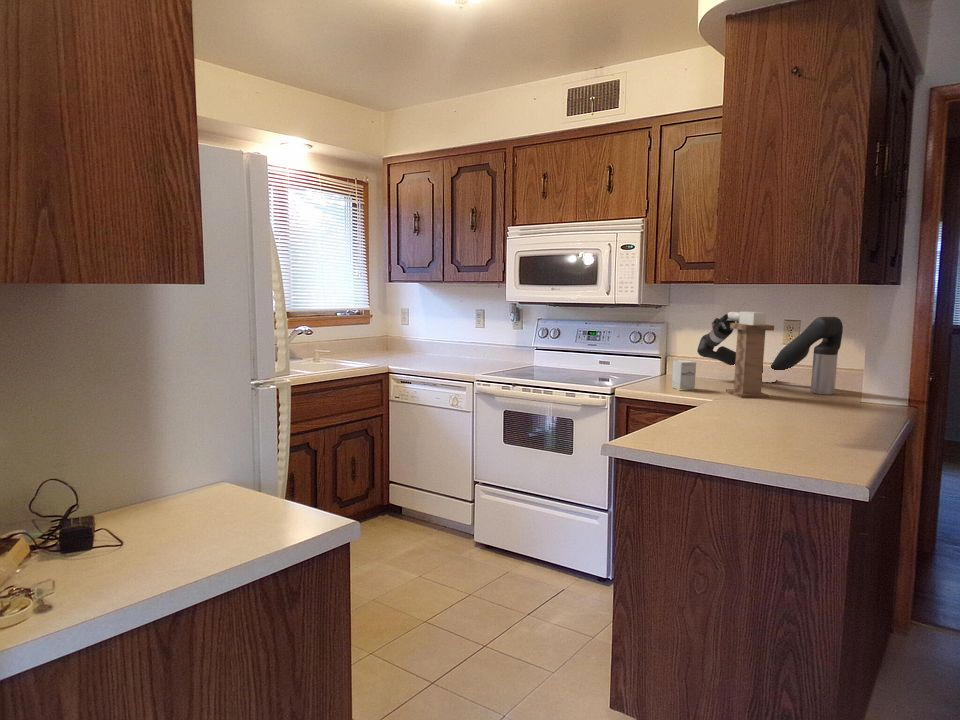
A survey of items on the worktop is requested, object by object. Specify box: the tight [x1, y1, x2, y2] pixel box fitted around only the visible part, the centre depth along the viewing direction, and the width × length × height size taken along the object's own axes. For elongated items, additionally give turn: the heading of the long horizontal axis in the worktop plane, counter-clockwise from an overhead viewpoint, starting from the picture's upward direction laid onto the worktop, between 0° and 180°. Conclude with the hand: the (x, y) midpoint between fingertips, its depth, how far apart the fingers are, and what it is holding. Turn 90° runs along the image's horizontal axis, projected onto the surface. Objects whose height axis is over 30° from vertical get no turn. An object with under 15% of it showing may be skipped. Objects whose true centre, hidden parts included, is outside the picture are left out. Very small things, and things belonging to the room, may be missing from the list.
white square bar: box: [727, 311, 767, 325], centre depth 278 cm, size 25×5×5 cm, turn 5°
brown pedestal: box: [725, 322, 775, 399], centre depth 274 cm, size 14×12×30 cm
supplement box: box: [671, 359, 697, 389], centre depth 287 cm, size 7×7×13 cm
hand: (736, 316), depth 284 cm, fingers open, 8 cm apart
